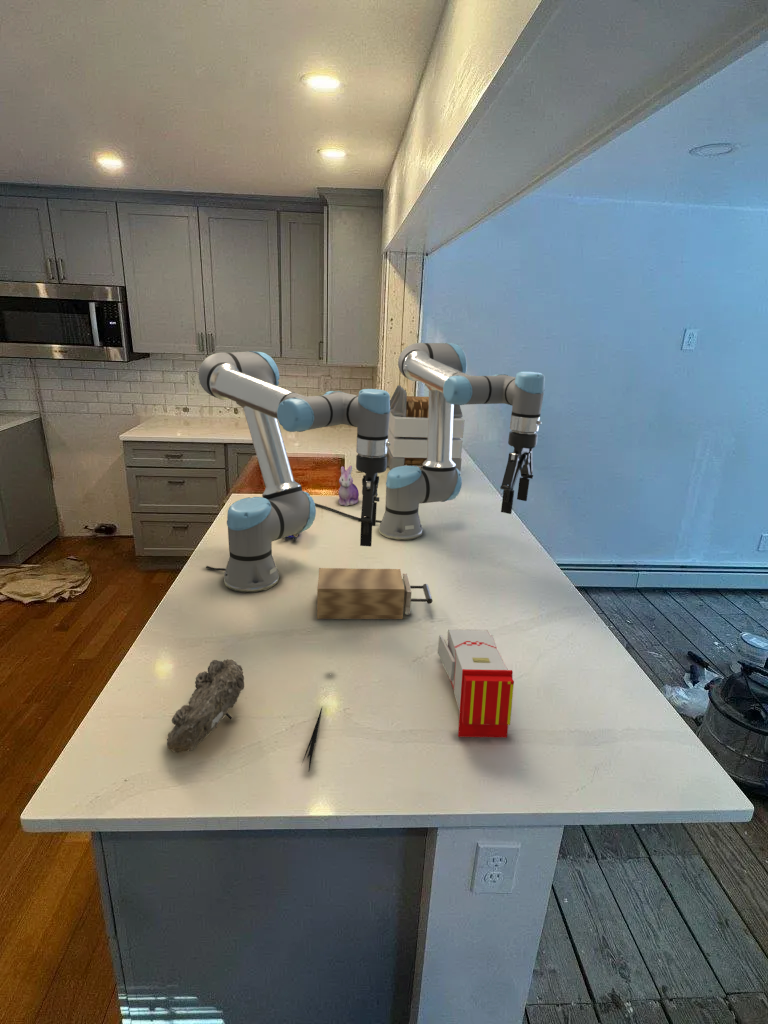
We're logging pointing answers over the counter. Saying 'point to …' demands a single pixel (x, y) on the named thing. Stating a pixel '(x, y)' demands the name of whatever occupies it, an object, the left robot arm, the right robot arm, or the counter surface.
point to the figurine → (347, 488)
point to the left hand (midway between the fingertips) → (368, 535)
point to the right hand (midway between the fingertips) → (514, 506)
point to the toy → (478, 682)
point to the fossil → (206, 705)
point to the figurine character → (292, 536)
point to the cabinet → (360, 594)
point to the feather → (313, 740)
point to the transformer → (416, 431)
